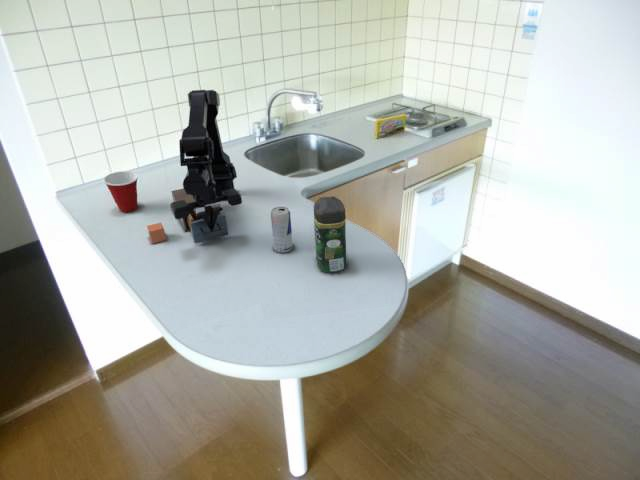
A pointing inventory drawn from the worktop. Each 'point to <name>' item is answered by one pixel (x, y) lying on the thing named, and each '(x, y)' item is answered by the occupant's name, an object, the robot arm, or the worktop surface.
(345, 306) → the worktop surface
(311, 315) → the worktop surface
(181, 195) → the cabinet
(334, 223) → the coffee jar
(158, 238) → the block
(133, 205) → the plastic cup
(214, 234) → the drawer
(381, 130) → the candy box
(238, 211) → the worktop surface
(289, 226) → the energy drink
